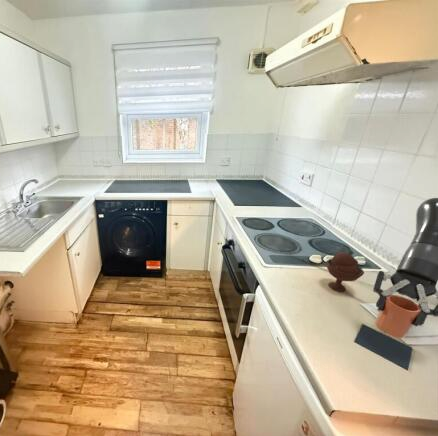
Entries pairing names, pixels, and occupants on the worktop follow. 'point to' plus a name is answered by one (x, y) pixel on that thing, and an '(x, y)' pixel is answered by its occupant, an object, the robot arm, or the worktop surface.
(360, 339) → the place mat
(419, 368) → the worktop surface
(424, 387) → the worktop surface
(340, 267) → the ice cream bowl
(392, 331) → the terracotta cup
